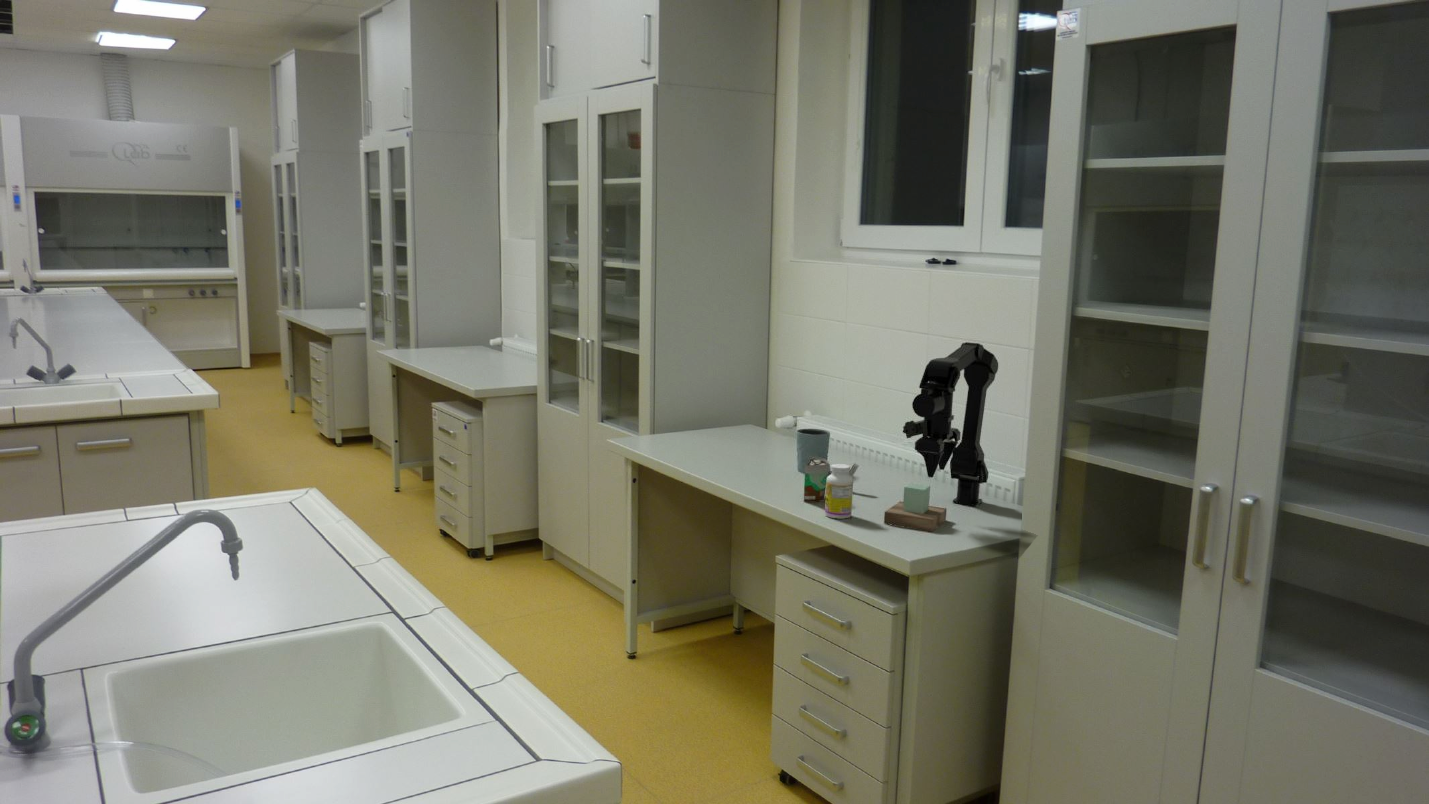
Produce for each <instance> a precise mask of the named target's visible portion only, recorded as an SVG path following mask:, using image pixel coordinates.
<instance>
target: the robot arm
mask: <svg viewBox="0 0 1429 804" xmlns="http://www.w3.org/2000/svg"><path fill="white" fill-rule="evenodd" d="M961 371H963V378H964V380H965V383H966V385H967V397H966V403H965V412H964V419H963V426H962V432H961V431H960V429H958V428H957V427H956V428H955V427H952V421H954V419H955V415H953V400H954V392H956V386H957V384H958V381H959V379H960V378H961ZM998 371H999V361H998V359H997V357H996V356H995V354H994V353H992V352H990V351H989V350H987V349H986V348H985V347H984V346H983V344H980V343H977V342H971V341H970V342H969V341H968V342H966V341H965V342H963V343H961V345H960V347H957V349H955V350H954V351H953V352H952V353H950V354H949V355H947V356H945V357H938V358H937V357H936V358H934V359H933V358H932V359H931V360H930V361H928V363H927V364H926V366H925V368H924V371H923V375H922V378H921V380H920V383H919V386H918V387H919V389H921V390H920V393H919V394H917V395H916V396H915V397H914V398H913V399H912V400H913V401H912V404H911V405H912V410H913V412H914V414H915V415H917V416H918V417H920V418H923V419H922V420H918V421H914V420H910V421H907V422H906V421H905V423H904V425H903V427H902V428H903V430H902V433H903V434H904V435H905V436H906V439H911V438H912V437H916V436H920V435H922V437H919V439H917V440H916V441H915V442H914V450H915V451H916V453H918V454H920V455H921V456H922V457H923V460H924V464H925V468H926V469H925V470H926V474H927V477H928V478H933V477H934V476H935V474H936V471H937V468H938V469H939V470H941V471H944V470H945V468H946V467H947V465H948V462H949V469H950V471H949V472H950V478H951V479H954V480H957V488H956V489H957V490H956V491H957V492H956V497H955V498H954V499H952V503H955V504H961V505H968V506H975V507H977V506H978V505H980V504H981V503H982V502H983V499H982V498H980V487H981V484H983V483H984V484H987V482H988V479H989V470H988V467H987V465H986V462H985V453H984V450H983V448H982V446H981V444H980V443H981V437H982V436H981V434H982V429H983V427H982V426H983V420H984V413H985V412H984V411H985V406H986V400H987V399H986V398H987V391H988V389H989V387H990V386H991V385H992V384H993V382H994V381H995V378H996V374H997V373H998ZM961 433H962V434H961ZM960 440H961V441H960ZM959 441H960V442H959ZM951 456H952V457H951ZM949 460H950V461H949ZM980 502H981V503H980Z"/></svg>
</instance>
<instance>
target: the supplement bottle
mask: <svg viewBox="0 0 1429 804" xmlns="http://www.w3.org/2000/svg"><path fill="white" fill-rule="evenodd" d="M850 469H851V466H850V465H848V464H844V463H833V464H830V471H831V474H829V475H827V481H826V490H825V499H824V500H825V502H824V503H825V504H824V506H825V507H824V514H825V515H826V517H828V518H831V519H835V518H837V519H838V520H845V518H846V519H849V518H850V517H851V516H852V511H853V509H852V508H853V493H854V479H853V477H851V476H850V475H849V471H850ZM837 519H836V520H837Z"/></svg>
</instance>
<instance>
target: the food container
mask: <svg viewBox="0 0 1429 804" xmlns="http://www.w3.org/2000/svg"><path fill="white" fill-rule="evenodd" d="M830 471H831V464H830V463H829V461H828V459H827V460H825V459H822V458H817V457H810V461H809V462H808V465H807V466H806V465H805V473H804V486H803V487H804V488H803V503H817V502H822V501H824V500H825V499H826V481H827V477H828V474H829V473H830Z"/></svg>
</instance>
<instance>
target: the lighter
mask: <svg viewBox="0 0 1429 804" xmlns="http://www.w3.org/2000/svg"><path fill="white" fill-rule="evenodd" d="M859 466H860V465H859V464H857V463H856V462H854V463H853V465H852V467H850V471H849V475H850V476H851V477H852V478H853V477H854V475H855V473H856V472H857V470H858V468H859Z"/></svg>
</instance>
